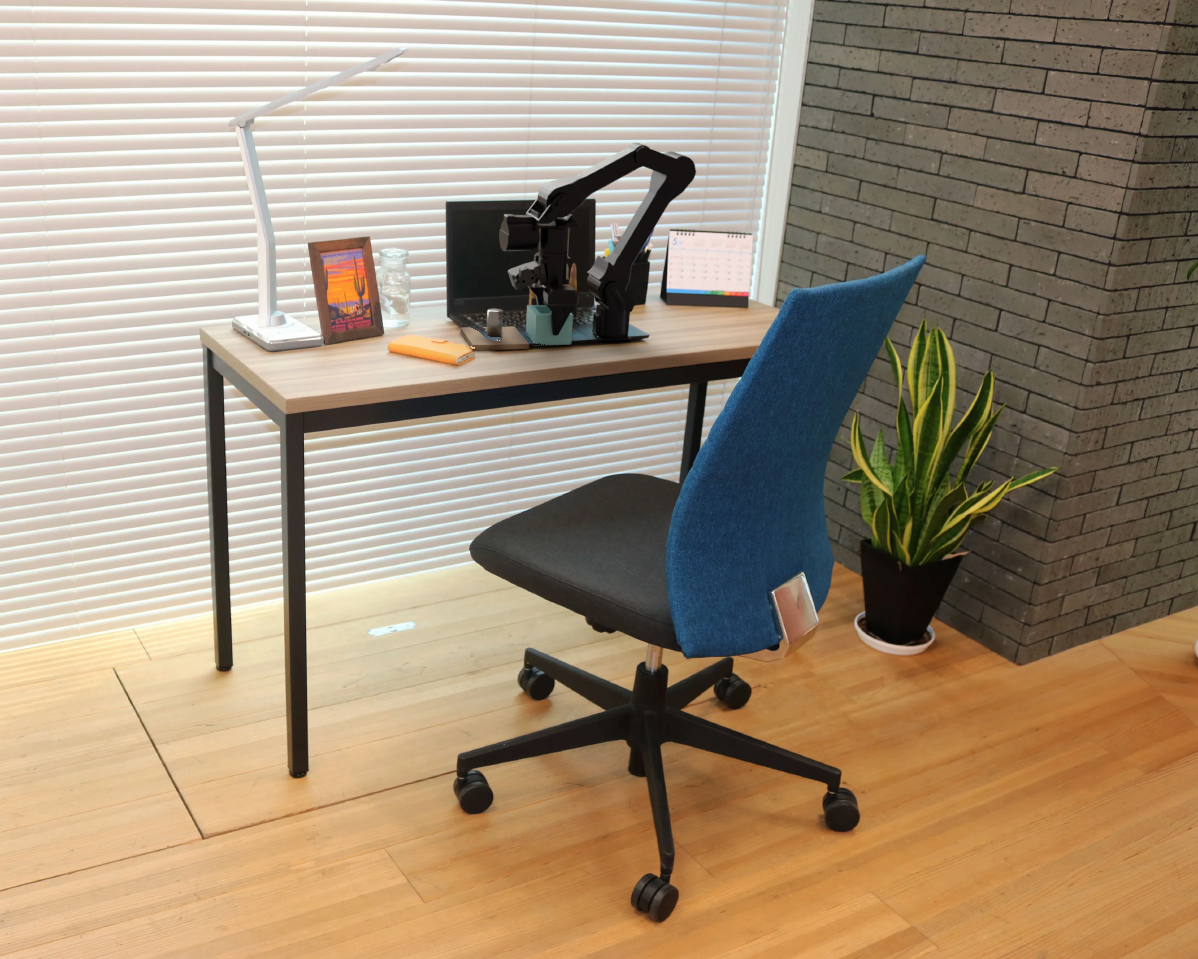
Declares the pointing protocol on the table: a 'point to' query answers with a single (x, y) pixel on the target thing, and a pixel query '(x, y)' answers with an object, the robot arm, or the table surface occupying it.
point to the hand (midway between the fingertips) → (549, 328)
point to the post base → (495, 345)
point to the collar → (546, 326)
